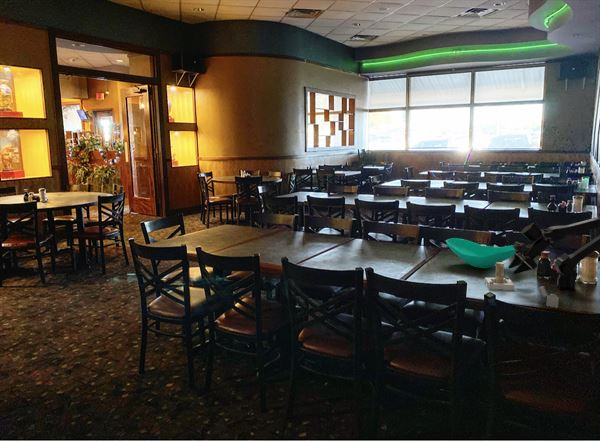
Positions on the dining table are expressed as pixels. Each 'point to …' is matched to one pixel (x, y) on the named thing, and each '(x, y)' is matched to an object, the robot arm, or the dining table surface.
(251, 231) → the dining table surface
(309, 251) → the dining table surface
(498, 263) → the wooden cylinder
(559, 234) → the robot arm
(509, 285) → the housing
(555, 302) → the grey notched flat piece
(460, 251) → the table top decor
